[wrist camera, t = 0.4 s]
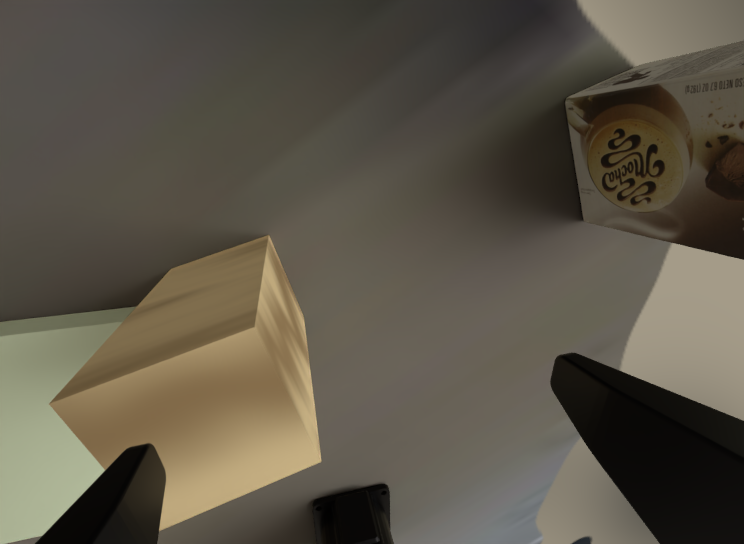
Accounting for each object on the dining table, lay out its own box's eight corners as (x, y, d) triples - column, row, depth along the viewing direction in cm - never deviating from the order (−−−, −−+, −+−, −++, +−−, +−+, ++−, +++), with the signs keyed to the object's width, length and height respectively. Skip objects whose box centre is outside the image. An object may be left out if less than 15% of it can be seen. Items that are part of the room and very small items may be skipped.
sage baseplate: (185, 480, 26) (177, 505, 24) (-48, 528, 23) (-76, 561, 21) (136, 306, 21) (122, 321, 19) (-164, 340, 18) (-214, 362, 17)
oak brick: (303, 316, 24) (321, 461, 13) (216, 349, 23) (157, 531, 12) (268, 234, 22) (254, 326, 11) (170, 268, 21) (48, 403, 10)
